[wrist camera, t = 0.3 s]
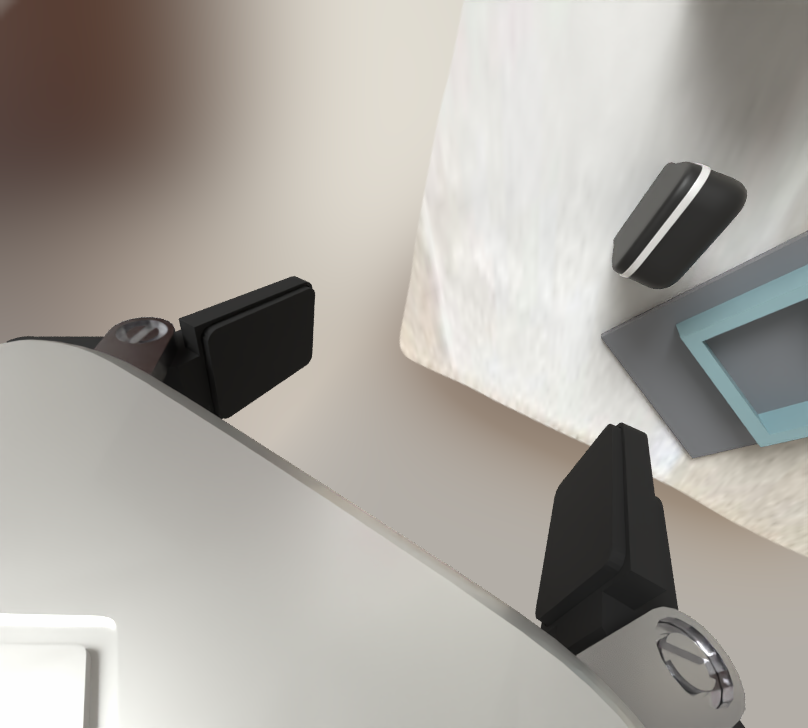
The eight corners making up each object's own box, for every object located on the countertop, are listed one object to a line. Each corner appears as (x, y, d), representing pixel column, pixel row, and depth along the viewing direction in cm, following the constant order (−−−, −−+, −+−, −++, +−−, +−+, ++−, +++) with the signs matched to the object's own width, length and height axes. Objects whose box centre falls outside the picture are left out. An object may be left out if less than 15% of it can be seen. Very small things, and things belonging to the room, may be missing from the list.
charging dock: (916, 176, 22) (962, 179, 19) (1038, 371, 23) (1099, 402, 20) (601, 334, 35) (600, 350, 32) (691, 453, 36) (698, 479, 33)
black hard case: (651, 262, 30) (667, 305, 21) (609, 243, 31) (608, 277, 22) (720, 177, 26) (775, 188, 17) (670, 157, 26) (697, 158, 18)
